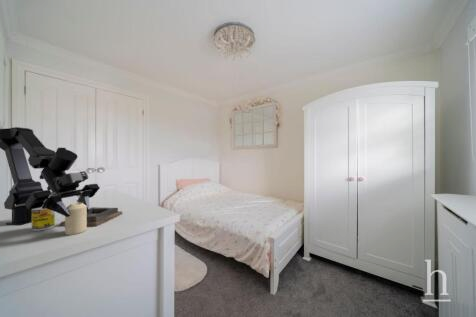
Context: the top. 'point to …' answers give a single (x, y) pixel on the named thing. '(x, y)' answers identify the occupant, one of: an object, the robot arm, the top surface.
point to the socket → (99, 215)
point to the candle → (76, 219)
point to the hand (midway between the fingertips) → (78, 213)
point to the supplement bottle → (42, 219)
